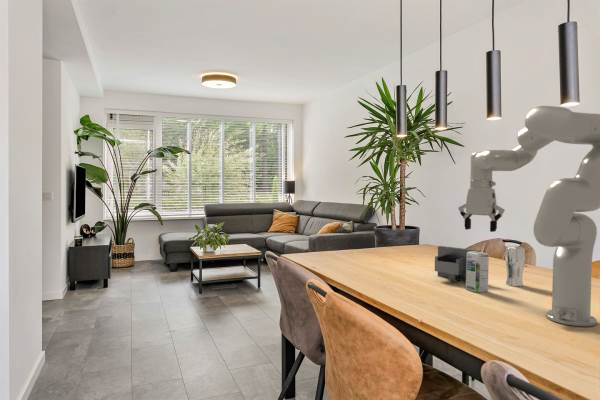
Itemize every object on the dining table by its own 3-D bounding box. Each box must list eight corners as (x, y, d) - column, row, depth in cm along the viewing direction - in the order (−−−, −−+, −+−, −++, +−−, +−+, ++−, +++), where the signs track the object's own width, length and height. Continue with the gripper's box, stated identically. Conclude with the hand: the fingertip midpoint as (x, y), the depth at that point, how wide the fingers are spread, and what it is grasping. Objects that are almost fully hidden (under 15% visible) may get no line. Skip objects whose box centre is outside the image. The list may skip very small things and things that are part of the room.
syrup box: (465, 289, 157) (465, 251, 157) (476, 287, 160) (477, 250, 159) (477, 293, 152) (478, 254, 152) (488, 291, 155) (489, 252, 154)
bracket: (467, 286, 162) (468, 253, 161) (426, 278, 175) (426, 248, 174) (480, 282, 169) (480, 250, 169) (439, 275, 182) (440, 245, 182)
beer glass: (526, 287, 161) (527, 249, 160) (507, 286, 162) (508, 248, 162) (521, 283, 168) (521, 246, 167) (502, 282, 169) (503, 245, 168)
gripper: (509, 185, 151) (508, 231, 152) (464, 184, 164) (463, 227, 165) (499, 185, 146) (498, 233, 147) (454, 184, 160) (453, 229, 160)
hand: (480, 230), depth 156 cm, fingers open, 9 cm apart
